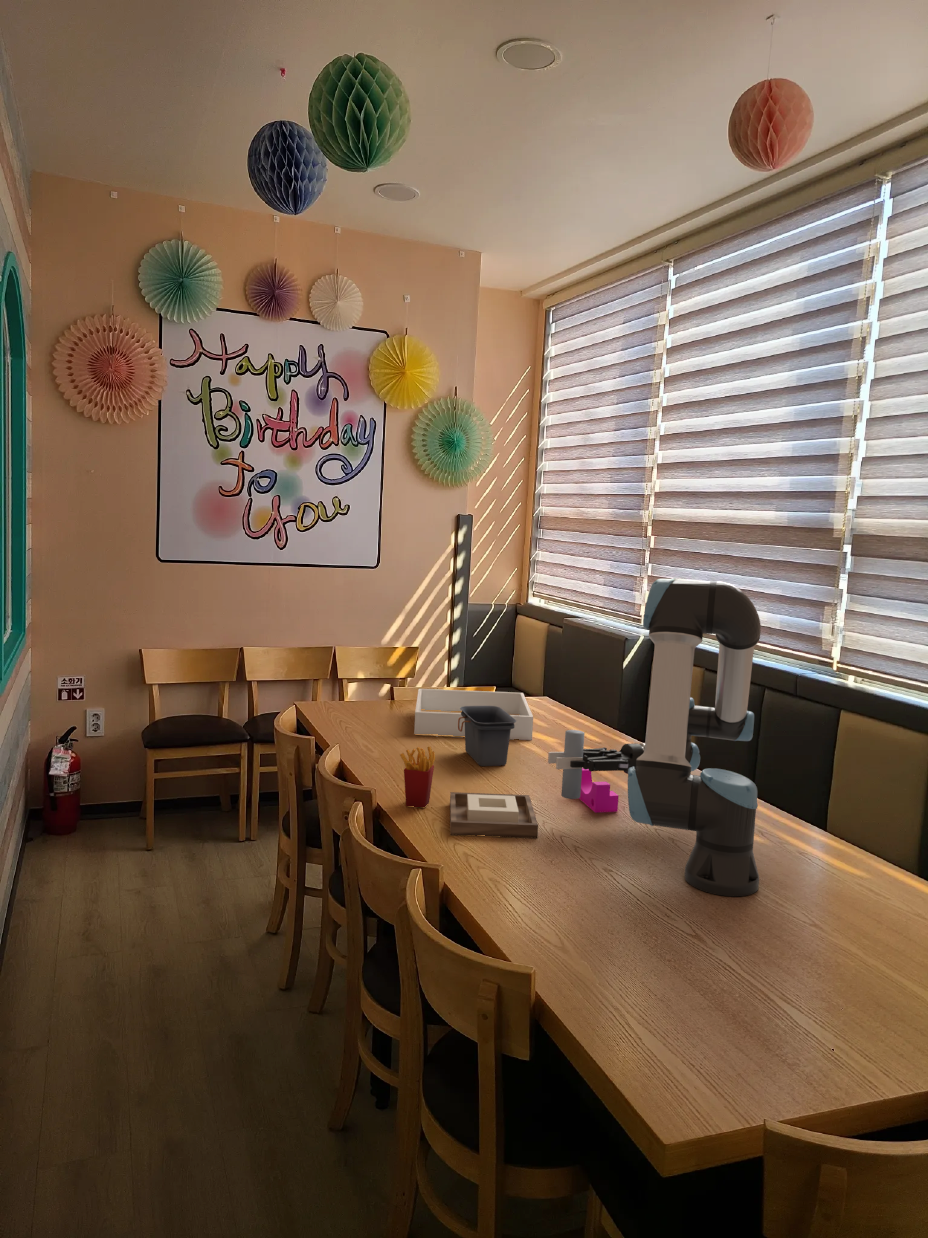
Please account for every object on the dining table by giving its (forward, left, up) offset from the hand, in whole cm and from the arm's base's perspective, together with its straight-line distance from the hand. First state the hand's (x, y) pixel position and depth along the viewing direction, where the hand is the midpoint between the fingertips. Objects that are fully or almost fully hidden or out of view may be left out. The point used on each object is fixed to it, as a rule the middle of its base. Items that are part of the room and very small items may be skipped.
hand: (552, 760), depth 220 cm
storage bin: (+57, +14, -17) cm, 61 cm away
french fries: (+13, +33, -16) cm, 39 cm away
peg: (+1, -5, -9) cm, 10 cm away
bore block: (+2, +14, -16) cm, 22 cm away
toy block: (+19, -15, -17) cm, 29 cm away
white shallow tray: (+102, +16, -16) cm, 104 cm away
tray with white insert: (+2, +14, -16) cm, 22 cm away
